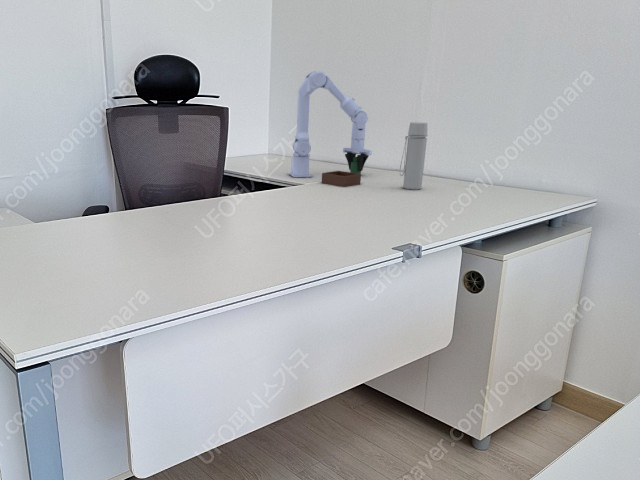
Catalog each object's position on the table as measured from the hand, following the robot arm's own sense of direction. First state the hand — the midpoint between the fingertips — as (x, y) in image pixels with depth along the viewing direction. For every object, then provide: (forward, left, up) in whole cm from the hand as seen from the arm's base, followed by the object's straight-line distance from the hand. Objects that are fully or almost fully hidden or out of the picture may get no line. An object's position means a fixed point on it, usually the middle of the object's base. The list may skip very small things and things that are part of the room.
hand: (355, 170), depth 266 cm
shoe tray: (+20, -14, -2) cm, 24 cm away
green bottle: (0, 0, -2) cm, 2 cm away
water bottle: (+36, +9, -2) cm, 37 cm away
